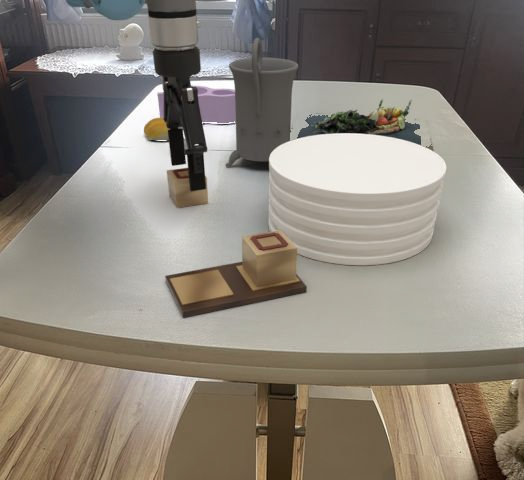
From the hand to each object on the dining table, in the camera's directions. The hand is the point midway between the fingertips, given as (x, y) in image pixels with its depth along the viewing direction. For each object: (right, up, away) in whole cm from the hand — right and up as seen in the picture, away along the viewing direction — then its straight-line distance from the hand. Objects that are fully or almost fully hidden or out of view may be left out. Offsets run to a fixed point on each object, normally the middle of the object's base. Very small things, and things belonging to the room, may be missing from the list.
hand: (188, 176), depth 101 cm
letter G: (0, -4, +3) cm, 4 cm away
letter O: (+15, -21, -21) cm, 33 cm away
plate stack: (+29, -11, -6) cm, 31 cm away
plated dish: (+38, +23, +37) cm, 58 cm away
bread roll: (-11, +20, +33) cm, 40 cm away
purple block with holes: (-3, +29, +45) cm, 54 cm away
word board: (+10, -23, -22) cm, 33 cm away
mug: (+14, +8, +18) cm, 24 cm away
